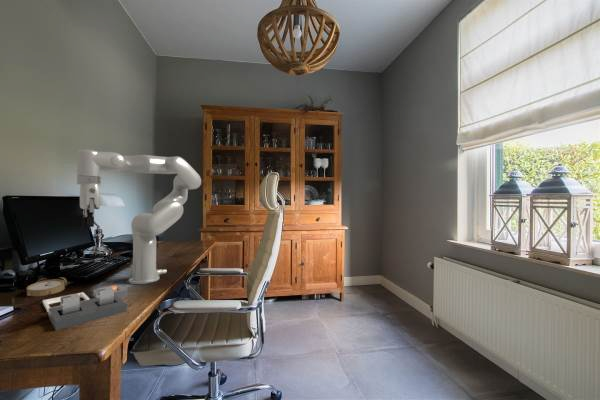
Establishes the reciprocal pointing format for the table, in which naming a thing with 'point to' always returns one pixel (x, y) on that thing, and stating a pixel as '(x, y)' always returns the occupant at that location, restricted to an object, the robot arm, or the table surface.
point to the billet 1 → (70, 304)
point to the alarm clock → (46, 287)
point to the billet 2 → (105, 296)
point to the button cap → (113, 287)
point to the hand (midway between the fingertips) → (88, 226)
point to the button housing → (117, 292)
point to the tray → (58, 299)
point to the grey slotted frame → (86, 313)
